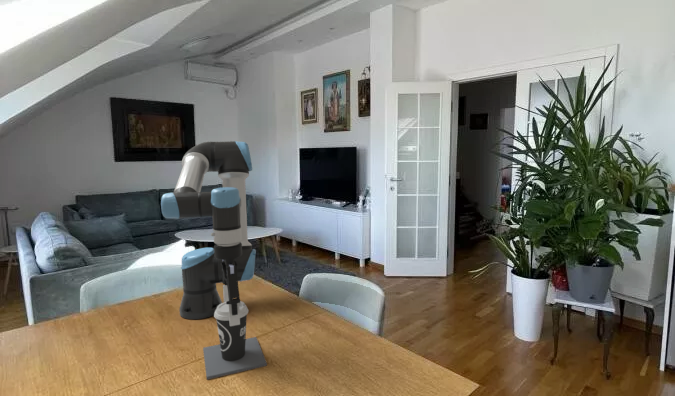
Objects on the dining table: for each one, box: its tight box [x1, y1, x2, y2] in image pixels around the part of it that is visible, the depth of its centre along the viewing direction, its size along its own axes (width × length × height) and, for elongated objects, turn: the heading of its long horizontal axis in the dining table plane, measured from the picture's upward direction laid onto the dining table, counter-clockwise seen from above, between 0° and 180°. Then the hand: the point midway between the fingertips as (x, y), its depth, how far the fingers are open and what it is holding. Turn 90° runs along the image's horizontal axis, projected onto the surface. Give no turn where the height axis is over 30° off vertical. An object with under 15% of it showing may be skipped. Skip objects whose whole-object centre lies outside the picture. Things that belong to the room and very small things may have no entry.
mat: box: [202, 336, 268, 381], centre depth 109 cm, size 16×16×1 cm
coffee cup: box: [213, 300, 249, 361], centre depth 108 cm, size 10×10×15 cm
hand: (231, 314), depth 108 cm, fingers open, 13 cm apart
